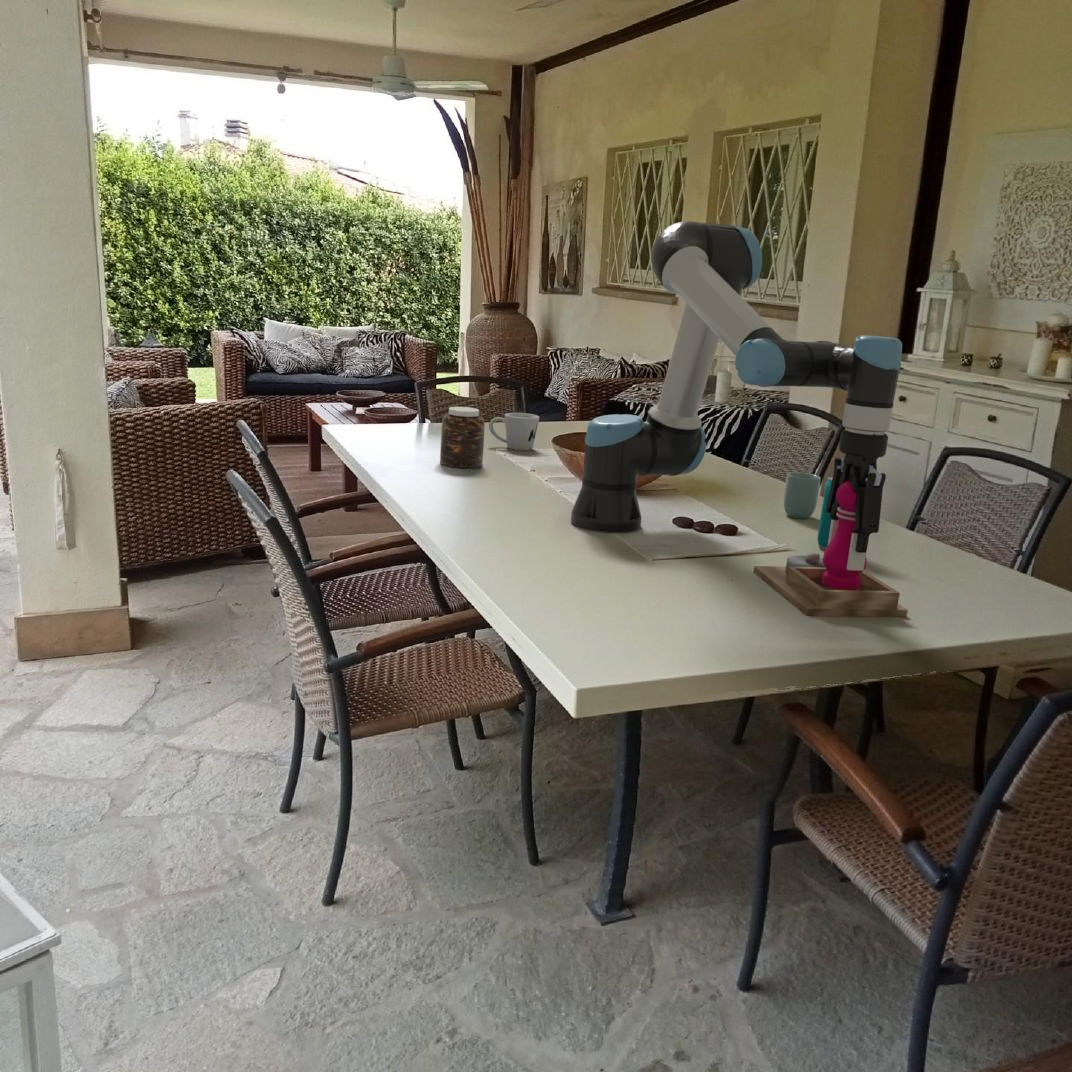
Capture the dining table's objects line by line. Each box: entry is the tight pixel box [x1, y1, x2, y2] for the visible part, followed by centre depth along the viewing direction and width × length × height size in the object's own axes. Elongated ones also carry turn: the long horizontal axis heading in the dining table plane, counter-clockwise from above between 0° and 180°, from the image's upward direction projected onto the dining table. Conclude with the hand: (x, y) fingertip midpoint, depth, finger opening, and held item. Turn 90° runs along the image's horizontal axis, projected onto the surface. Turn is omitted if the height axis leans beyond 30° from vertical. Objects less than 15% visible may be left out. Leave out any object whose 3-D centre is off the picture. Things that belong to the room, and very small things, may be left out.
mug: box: [488, 412, 540, 451], centre depth 298 cm, size 10×15×10 cm
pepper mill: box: [822, 481, 868, 590], centre depth 170 cm, size 7×7×20 cm
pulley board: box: [753, 552, 908, 618], centre depth 177 cm, size 18×24×5 cm
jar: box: [439, 406, 485, 469], centre depth 267 cm, size 12×12×15 cm
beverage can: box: [816, 475, 833, 551], centre depth 207 cm, size 6×6×15 cm
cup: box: [783, 471, 822, 520], centre depth 235 cm, size 8×8×10 cm
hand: (844, 562), depth 171 cm, fingers closed on pepper mill, 7 cm apart
